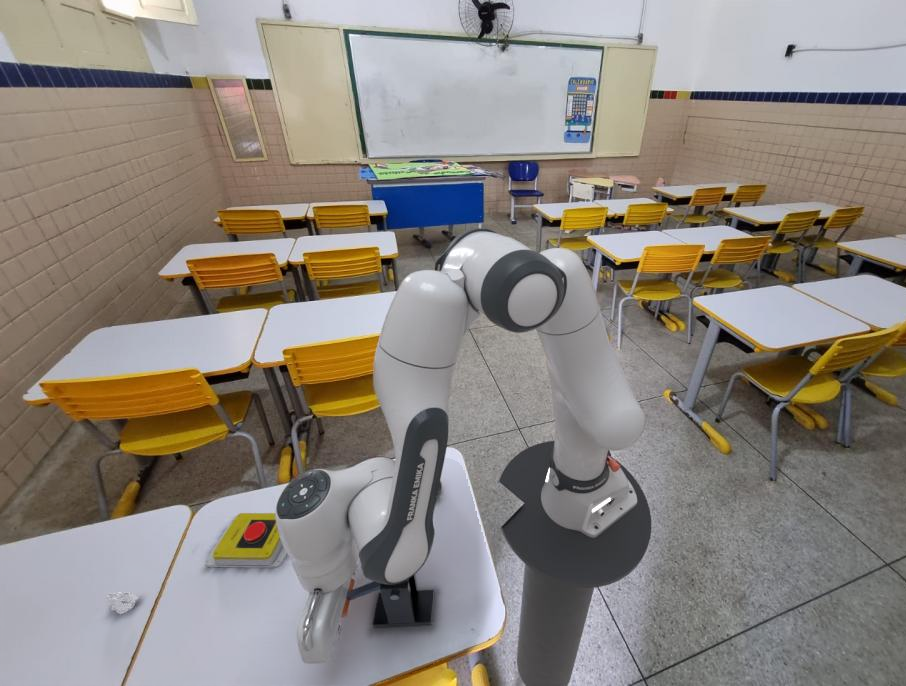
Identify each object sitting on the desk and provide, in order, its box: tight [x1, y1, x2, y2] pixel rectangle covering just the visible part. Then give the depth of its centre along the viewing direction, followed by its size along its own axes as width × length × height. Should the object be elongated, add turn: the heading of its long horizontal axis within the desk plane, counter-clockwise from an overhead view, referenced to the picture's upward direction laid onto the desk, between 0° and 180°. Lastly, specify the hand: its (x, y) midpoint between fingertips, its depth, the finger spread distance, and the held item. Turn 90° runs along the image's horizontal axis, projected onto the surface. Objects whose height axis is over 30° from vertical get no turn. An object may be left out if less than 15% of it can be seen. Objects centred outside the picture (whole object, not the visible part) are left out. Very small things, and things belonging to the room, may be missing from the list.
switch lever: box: [341, 578, 409, 618], centre depth 64 cm, size 13×5×2 cm, turn 93°
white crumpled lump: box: [106, 591, 139, 615], centre depth 67 cm, size 5×2×4 cm, turn 93°
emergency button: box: [204, 512, 288, 569], centre depth 77 cm, size 9×4×15 cm
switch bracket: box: [372, 573, 435, 629], centre depth 65 cm, size 10×6×13 cm, turn 93°
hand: (344, 601), depth 65 cm, fingers open, 8 cm apart
